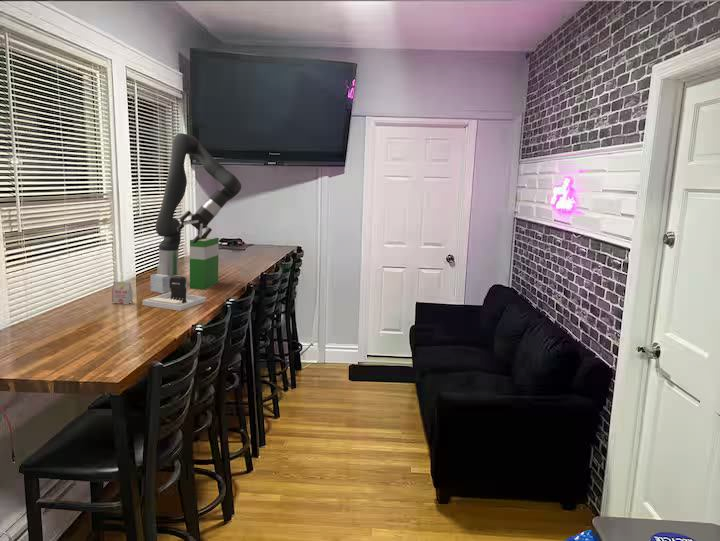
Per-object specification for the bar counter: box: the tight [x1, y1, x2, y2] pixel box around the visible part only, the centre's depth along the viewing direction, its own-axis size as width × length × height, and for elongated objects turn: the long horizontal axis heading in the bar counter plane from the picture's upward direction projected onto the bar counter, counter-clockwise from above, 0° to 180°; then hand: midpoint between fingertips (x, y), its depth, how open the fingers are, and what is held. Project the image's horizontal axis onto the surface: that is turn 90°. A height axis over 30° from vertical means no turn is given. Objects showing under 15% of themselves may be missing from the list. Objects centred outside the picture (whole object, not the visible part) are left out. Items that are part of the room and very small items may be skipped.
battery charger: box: [169, 275, 188, 303], centre depth 210 cm, size 7×4×11 cm, turn 81°
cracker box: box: [151, 298, 182, 305], centre depth 203 cm, size 12×4×2 cm, turn 74°
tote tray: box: [142, 291, 207, 312], centre depth 209 cm, size 18×18×3 cm
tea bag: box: [111, 281, 134, 305], centre depth 203 cm, size 4×7×10 cm, turn 87°
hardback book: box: [189, 236, 220, 291], centre depth 248 cm, size 18×7×24 cm, turn 174°
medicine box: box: [149, 273, 171, 294], centre depth 228 cm, size 8×4×9 cm, turn 65°
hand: (185, 236), depth 227 cm, fingers open, 8 cm apart
